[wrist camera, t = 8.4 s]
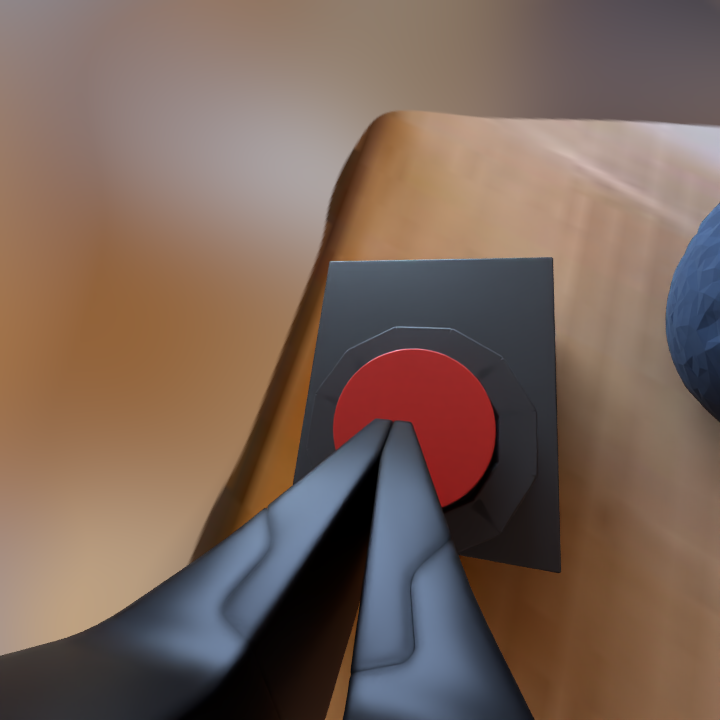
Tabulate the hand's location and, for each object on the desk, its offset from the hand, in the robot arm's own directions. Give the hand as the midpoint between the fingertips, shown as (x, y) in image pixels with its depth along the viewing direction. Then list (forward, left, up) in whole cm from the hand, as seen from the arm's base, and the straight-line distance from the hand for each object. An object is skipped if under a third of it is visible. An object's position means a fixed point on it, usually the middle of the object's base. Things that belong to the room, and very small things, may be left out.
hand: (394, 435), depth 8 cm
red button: (+1, 0, -5) cm, 5 cm away
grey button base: (+3, 0, -12) cm, 12 cm away
